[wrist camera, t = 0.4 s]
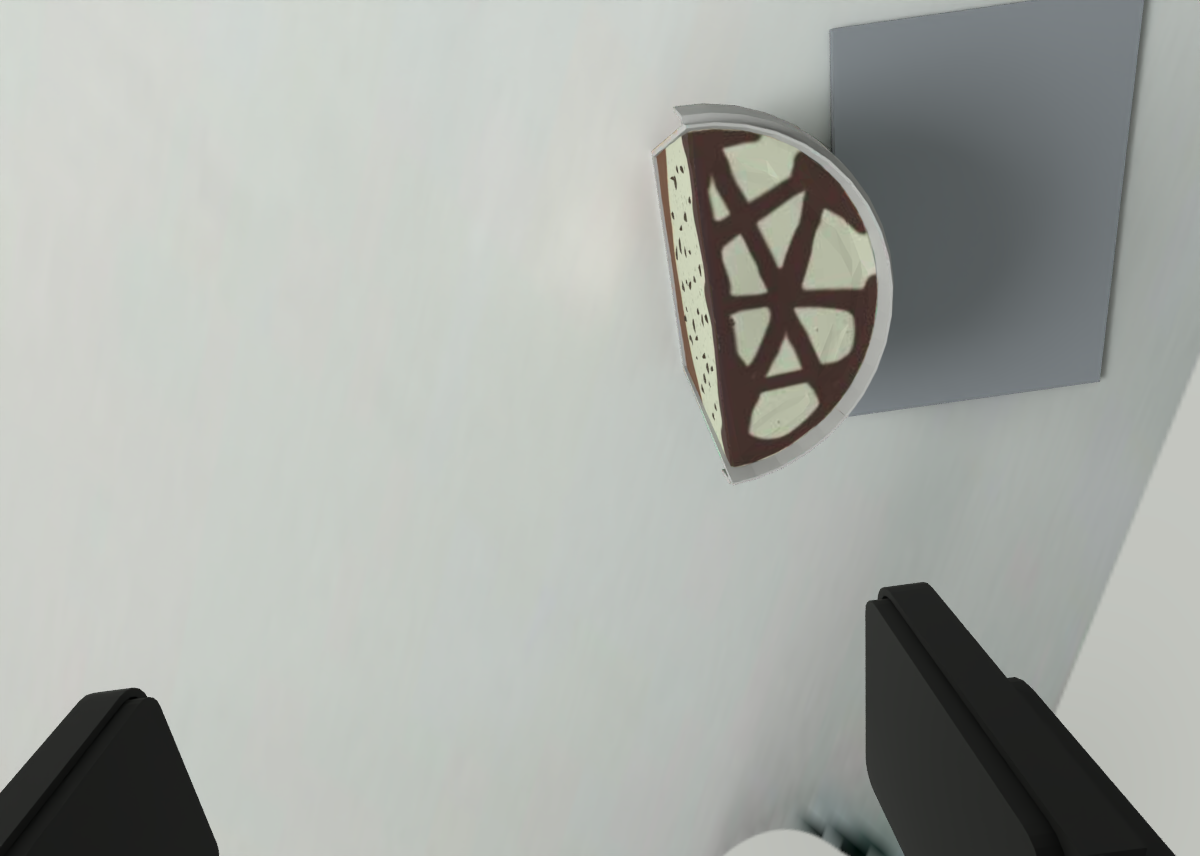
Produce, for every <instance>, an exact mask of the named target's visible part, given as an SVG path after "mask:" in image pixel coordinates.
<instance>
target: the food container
mask: <svg viewBox="0 0 1200 856" xmlns="http://www.w3.org/2000/svg"><path fill="white" fill-rule="evenodd" d="M673 108H674V113H675V114H676V115H677V116H678V118H679V119H680V120H681V123H682V126H681V127H679V128H678V129H677V130H676V131H675V132H674V133H672V134H671V135H670V136H669V137H668V138H667V139H665V140H664V141H663V142H662V143H661V144H660V145H658V146H657V147H656V148H655V149H654V150H653V151H651V152H652V159H653V165H654V172H655V179H656V186H657V193H658V199H659V206H660V213H661V220H662V227H663V233H664V240H665V247H666V254H667V261H668V267H669V274H670V281H671V288H672V295H673V301H674V308H675V315H676V322H677V328H678V335H679V342H680V349H681V356H682V362H683V369H684V372H685V374H686V377H687V379H688V381H689V384H690V386H691V388H692V391H693V393H694V396H695V398H696V400H697V403H698V405H699V407H700V410H701V412H702V415H703V417H704V419H705V422H706V424H707V426H708V429H709V431H710V434H711V436H712V438H713V441H714V443H715V445H716V448H717V450H718V453H719V455H720V457H721V460H722V462H723V464H724V467H725V469H723V470H722V473H723V475H724V477H725V478H726V479H727V481H728V482H729V483H730V484H731V483H732V485H736V484H740V483H744V482H747V481H751V480H755V479H758V478H761V477H763V476H765V475H768V474H770V473H773V472H775V471H778V470H780V469H782V468H784V467H786V466H787V465H789V464H791V463H793V462H794V461H796V460H798V459H799V458H801V457H803V456H805V455H806V454H808V453H809V452H810V451H811V450H813V449H814V448H815V447H816V446H818V445H819V444H820V443H822V442H823V441H824V440H825V439H827V438H828V437H829V436H830V435H831V434H832V433H833V432H834V431H835V430H836V429H837V428H838V427H839V425H840V424H841V423H842V422H843V421H844V420H845V419H846V418H847V417H848V416H849V414H850V413H851V412H852V410H853V409H854V407H855V406H856V405H857V403H858V402H859V401H860V399H861V398H862V396H863V395H864V393H865V391H866V389H867V388H868V386H869V384H870V382H871V380H872V378H873V376H874V374H875V373H876V371H877V368H878V365H879V363H880V360H881V357H882V354H883V351H884V348H885V346H886V343H887V337H888V332H889V327H890V322H891V317H892V311H893V288H894V279H893V271H892V262H891V254H890V250H889V246H888V243H887V239H886V236H885V232H884V229H883V225H882V223H881V221H880V219H879V217H878V215H877V212H876V210H875V208H874V206H873V204H872V202H871V200H870V198H869V196H868V195H867V194H866V192H865V191H864V189H863V188H862V187H861V185H860V184H859V183H858V181H857V180H856V178H855V177H854V176H853V174H852V173H851V172H850V171H849V170H848V169H847V167H846V166H845V165H844V164H843V163H842V162H841V161H840V160H839V159H838V158H837V157H836V156H835V155H833V154H832V153H831V152H830V151H829V150H828V149H827V148H826V147H825V146H824V145H823V144H822V143H821V142H820V141H818V140H817V139H815V138H814V137H812V136H810V135H809V134H807V133H806V132H804V131H803V130H801V129H800V128H798V127H797V126H795V125H793V124H791V123H789V122H786V121H784V120H782V119H779V118H777V117H775V116H772V115H770V114H768V113H765V112H761V111H757V110H752V109H748V108H744V107H740V106H735V105H719V104H694V105H685V106H676V107H673Z"/></svg>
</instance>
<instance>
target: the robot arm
mask: <svg viewBox="0 0 1200 856" xmlns="http://www.w3.org/2000/svg"><path fill="white" fill-rule="evenodd" d="M865 621H866V765H867V771H868V775H869V779H870V782H871V785H872V788H873V790H874V792H875V795H876V797H877V799H878V801H879V803H880V805H881V807H882V809H883V811H884V813H885V815H886V818H887V820H888V822H889V824H890V826H891V828H892V830H893V832H894V834H895V836H896V838H897V841H898V843H899V845H900V847H901V849H902V851H903V853H904V855H905V856H1175V855H1174V853H1173V852H1172V851H1171V850H1170V849H1169V848H1168V846H1167V845H1166V844H1165V843H1164V842H1163V841H1162V840H1161V838H1160V837H1159V836H1158V835H1157V834H1156V832H1155V831H1154V830H1153V829H1152V828H1151V827H1150V825H1149V824H1148V823H1147V822H1146V821H1145V820H1144V818H1143V817H1142V816H1141V815H1140V814H1139V813H1138V811H1137V810H1136V809H1135V808H1134V807H1133V806H1132V804H1131V803H1130V802H1129V801H1128V800H1127V799H1126V797H1125V796H1124V795H1123V794H1122V793H1121V792H1120V790H1119V789H1118V788H1117V787H1116V786H1115V785H1114V783H1113V782H1112V781H1111V780H1110V779H1109V778H1108V776H1107V775H1106V774H1105V773H1104V772H1103V771H1102V769H1101V768H1100V767H1099V766H1098V765H1097V764H1096V762H1095V761H1094V760H1093V759H1092V758H1091V757H1090V755H1089V754H1088V753H1087V752H1086V751H1085V750H1084V749H1083V747H1082V746H1081V745H1080V744H1079V743H1078V741H1077V740H1076V739H1075V738H1074V737H1073V736H1072V734H1071V733H1070V732H1069V731H1068V730H1067V729H1066V727H1065V726H1064V725H1063V724H1062V723H1061V722H1060V720H1059V719H1058V718H1057V717H1056V716H1055V714H1054V713H1053V712H1052V711H1051V710H1050V709H1049V707H1048V706H1047V705H1046V704H1045V703H1044V702H1043V700H1042V699H1041V698H1040V697H1039V696H1038V695H1037V693H1036V692H1035V691H1034V690H1033V689H1032V688H1031V687H1030V686H1029V685H1028V684H1027V683H1026V682H1024V681H1023V680H1021V679H1018V678H1016V677H1012V678H1007V677H1006V676H1005V675H1004V674H1003V673H1002V671H1001V670H1000V669H999V668H998V666H997V665H996V664H995V663H994V662H993V660H992V659H991V658H990V657H989V656H988V654H987V653H986V652H985V651H984V650H983V648H982V647H981V646H980V645H979V643H978V642H977V641H976V640H975V639H974V637H973V636H972V635H971V634H970V633H969V631H968V630H967V629H966V628H965V627H964V625H963V624H962V623H961V622H960V621H959V619H958V618H957V617H956V616H955V614H954V613H953V612H952V611H951V610H950V608H949V607H948V606H947V605H946V604H945V602H944V601H943V600H942V599H941V598H940V596H939V595H938V594H937V593H936V591H935V590H934V589H933V588H932V587H931V586H930V585H929V584H928V583H925V582H920V583H913V584H905V585H898V586H890V587H883V588H882V589H880V591H879V594H878V600H872V601H868V602H867V604H866V611H865ZM0 856H219V850H218V846H217V843H216V840H215V838H214V836H213V833H212V831H211V828H210V826H209V823H208V821H207V819H206V816H205V814H204V811H203V809H202V806H201V804H200V802H199V799H198V797H197V794H196V792H195V789H194V787H193V785H192V782H191V780H190V777H189V775H188V772H187V770H186V768H185V765H184V763H183V760H182V758H181V755H180V753H179V750H178V748H177V746H176V743H175V741H174V738H173V736H172V733H171V731H170V729H169V726H168V724H167V721H166V719H165V716H164V714H163V712H162V709H161V707H160V705H159V703H158V701H157V700H155V699H154V698H151V697H147V696H146V694H145V693H144V692H143V691H142V690H140V689H138V688H128V689H120V690H113V691H105V692H98V693H92V694H89V695H86V696H85V697H84V698H83V699H81V700H80V701H79V702H78V703H77V705H76V706H75V707H74V708H73V709H72V710H71V712H70V713H69V714H68V715H67V716H66V717H65V718H64V720H63V721H62V722H61V723H60V724H59V725H58V727H57V728H56V729H55V730H54V731H53V732H52V734H51V735H50V736H49V737H48V738H47V739H46V741H45V742H44V743H43V744H42V745H41V746H40V747H39V749H38V750H37V751H36V752H35V753H34V754H33V756H32V757H31V758H30V759H29V760H28V761H27V763H26V764H25V765H24V766H23V767H22V768H21V770H20V771H19V772H18V773H17V774H16V775H15V776H14V778H13V779H12V780H11V781H10V782H9V783H8V785H7V786H6V787H5V788H4V789H3V790H2V792H1V793H0Z"/></svg>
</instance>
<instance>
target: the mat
mask: <svg viewBox="0 0 1200 856" xmlns="http://www.w3.org/2000/svg"><path fill="white" fill-rule="evenodd" d="M1143 6H1144V0H1032V1H1025V2H1018V3H1011V4H1004V5H997V6H990V7H983V8H976V9H969V10H962V11H955V12H947V13H940V14H933V15H926V16H919V17H912V18H905V19H898V20H891V21H884V22H877V23H870V24H862V25H855V26H848V27H841V28H834V29H831V30H830V81H831V138H832V154H833V155H835V156H836V157H837V158H838V159H839V160H840V161H841V162H842V163H843V164H844V165H845V166H846V167H847V169H848V170H849V171H850V172H851V173H852V174H853V176H854V177H855V178H856V180H857V181H858V183H859V184H860V185H861V187H862V188H863V189H864V191H865V192H866V194H867V195H868V196H869V198H870V200H871V202H872V204H873V206H874V208H875V210H876V212H877V215H878V217H879V219H880V221H881V223H882V225H883V229H884V232H885V236H886V239H887V243H888V246H889V250H890V254H891V262H892V271H893V279H894V288H893V311H892V317H891V322H890V327H889V332H888V337H887V343H886V346H885V348H884V351H883V354H882V357H881V360H880V363H879V365H878V368H877V371H876V373H875V374H874V376H873V378H872V380H871V382H870V384H869V386H868V388H867V389H866V391H865V393H864V395H863V396H862V398H861V399H860V401H859V402H858V403H857V405H856V406H855V407H854V409H853V410H852V412H851V413H850V414H849V416H856V415H863V414H870V413H878V412H885V411H892V410H899V409H906V408H913V407H921V406H928V405H935V404H942V403H949V402H956V401H964V400H971V399H978V398H985V397H992V396H999V395H1007V394H1014V393H1021V392H1028V391H1035V390H1042V389H1050V388H1057V387H1064V386H1071V385H1078V384H1085V383H1093V382H1100V374H1101V366H1102V357H1103V349H1104V340H1105V331H1106V323H1107V314H1108V306H1109V297H1110V289H1111V280H1112V271H1113V263H1114V254H1115V246H1116V237H1117V229H1118V220H1119V211H1120V203H1121V194H1122V186H1123V177H1124V169H1125V160H1126V151H1127V143H1128V134H1129V126H1130V117H1131V109H1132V100H1133V91H1134V83H1135V74H1136V66H1137V57H1138V49H1139V40H1140V31H1141V23H1142V14H1143ZM849 416H848V417H849Z"/></svg>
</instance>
